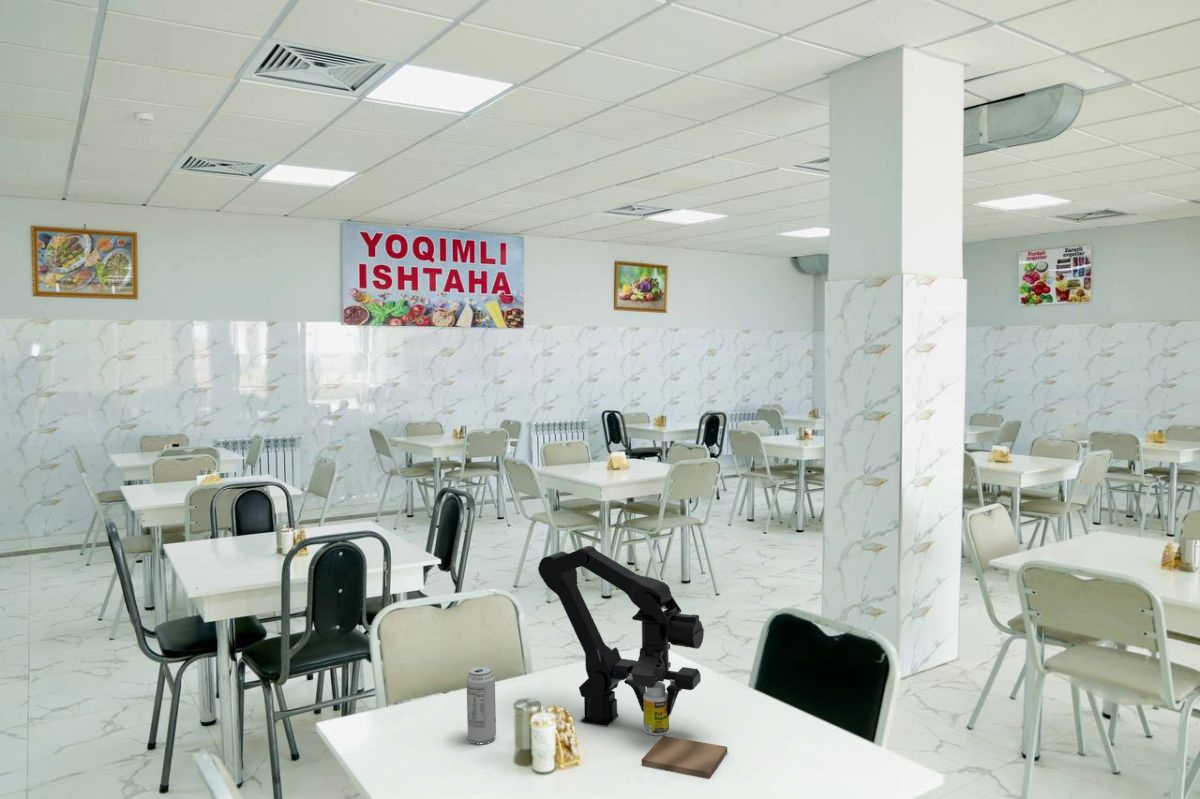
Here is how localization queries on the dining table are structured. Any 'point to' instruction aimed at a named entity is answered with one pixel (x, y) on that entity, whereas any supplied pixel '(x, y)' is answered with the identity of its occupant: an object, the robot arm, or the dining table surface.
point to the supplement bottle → (655, 710)
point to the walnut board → (685, 756)
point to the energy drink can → (481, 704)
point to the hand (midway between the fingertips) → (656, 712)
